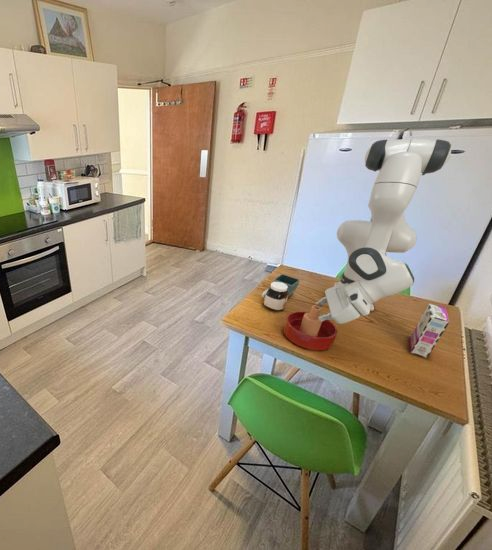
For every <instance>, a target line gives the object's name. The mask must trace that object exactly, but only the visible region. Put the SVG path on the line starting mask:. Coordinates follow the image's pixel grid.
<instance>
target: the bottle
mask: <svg viewBox="0 0 492 550" xmlns="http://www.w3.org/2000/svg"><path fill="white" fill-rule="evenodd" d="M321 309H322V307H319V306H316V304H315V305H312V306H311V309H310V311H309V312H310V313H305V314H304V316H303V320H302V323H301V326H300V330H299V332H301V333H304V334H306V335H309V336H314V337H317V335H318V332H319V329H320V326H321V323H322V321H320V320H319V318H318V316H319V315H320V312H321Z"/></svg>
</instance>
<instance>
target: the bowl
mask: <svg viewBox="0 0 492 550" xmlns="http://www.w3.org/2000/svg"><path fill="white" fill-rule="evenodd" d="M305 313H310V311H293V312H290V313H288V314H287V316H286V318H285V321H284V325H283V334H284V335H285V337H286V338H287V339H288V340H289V342H291V343H293V344H295V345H296V346H298V347H301V348H304V349H306V350H311V351H325V350H329V349H330V348H332V347H333V345H334V342H335V339H336V337H337V334H338V328H337V326H336V325H335V324H334V323H333V322H332V320H325V321H322V323H321V326H320V329H319V332H318V335H317V337H314V336H309V335H306V334H304V333H301V332H299V330H300V326H301V323H302V320H303V316H304V314H305Z"/></svg>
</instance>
